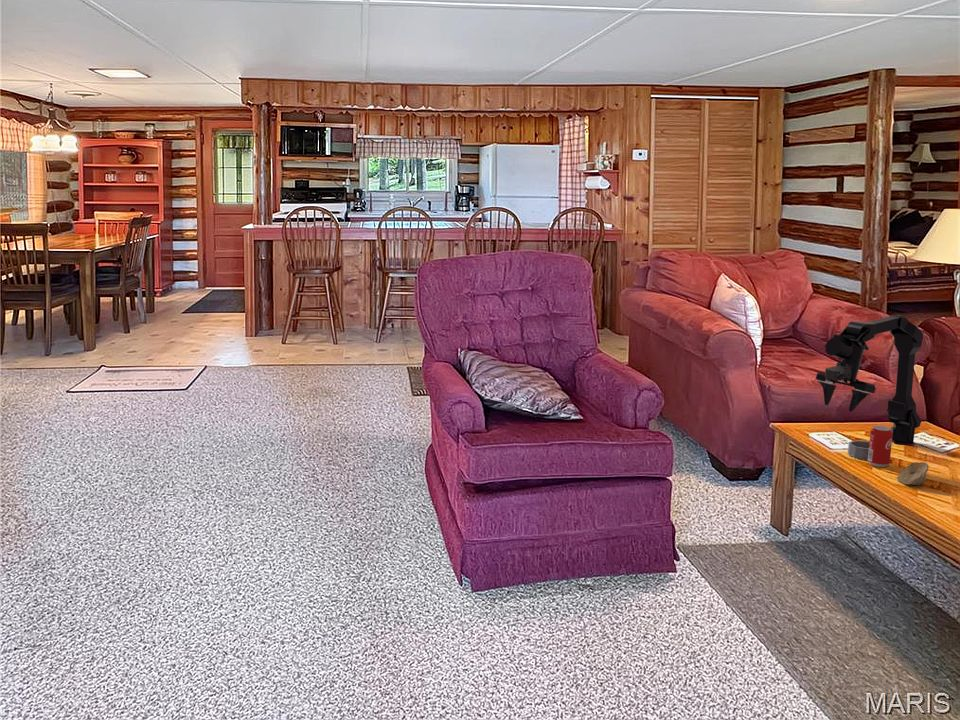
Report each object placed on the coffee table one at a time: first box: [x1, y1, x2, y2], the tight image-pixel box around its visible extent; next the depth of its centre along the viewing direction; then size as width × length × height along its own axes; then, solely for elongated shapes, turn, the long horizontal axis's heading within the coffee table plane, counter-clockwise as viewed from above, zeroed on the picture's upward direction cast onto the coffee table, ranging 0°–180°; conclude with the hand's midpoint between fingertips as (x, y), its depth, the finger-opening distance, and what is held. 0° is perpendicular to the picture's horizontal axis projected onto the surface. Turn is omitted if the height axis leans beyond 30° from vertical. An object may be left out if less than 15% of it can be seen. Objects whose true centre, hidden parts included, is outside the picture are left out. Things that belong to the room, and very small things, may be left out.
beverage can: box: [867, 425, 893, 468], centre depth 280 cm, size 6×6×12 cm
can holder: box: [847, 440, 870, 461], centre depth 289 cm, size 9×9×4 cm
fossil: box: [896, 461, 930, 486], centre depth 263 cm, size 9×4×10 cm
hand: (838, 408), depth 287 cm, fingers open, 9 cm apart
